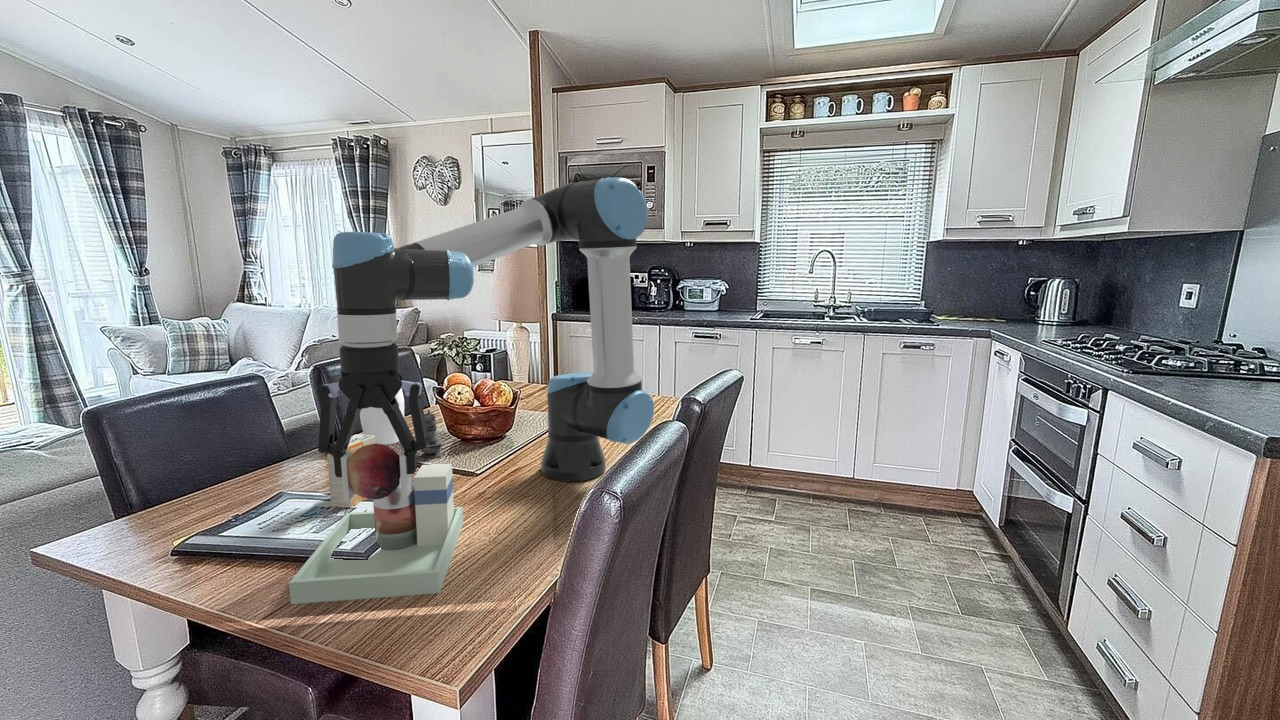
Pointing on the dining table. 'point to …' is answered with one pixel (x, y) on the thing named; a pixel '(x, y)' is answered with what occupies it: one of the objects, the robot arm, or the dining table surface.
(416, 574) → the tote
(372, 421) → the bottle
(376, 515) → the tin
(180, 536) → the dining table surface
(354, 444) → the supplement box
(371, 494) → the fruit
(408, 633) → the dining table surface
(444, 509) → the box
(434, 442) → the chess piece
